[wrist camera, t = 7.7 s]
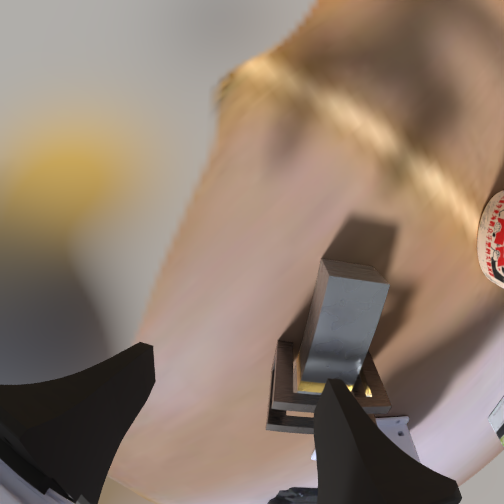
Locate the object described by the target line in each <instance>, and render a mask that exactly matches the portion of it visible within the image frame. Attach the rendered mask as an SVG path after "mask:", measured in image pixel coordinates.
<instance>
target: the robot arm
mask: <svg viewBox="0 0 504 504" xmlns="http://www.w3.org/2000/svg"><path fill="white" fill-rule="evenodd" d="M155 381H156V380H155V368H154V354H153V346H152V345H149V344H145V343H142V342H139V343H137V344H135V345H133V346H132V347H130V348H128V349H126V350H124V351H122V352H121V353H119V354H117V355H115V356H113V357H111V358H109V359H107V360H105V361H103V362H101V363H99V364H97V365H94V366H92V367H90V368H88V369H85V370H83V371H81V372H78V373H75V374H73V375H69V376H66V377H63V378H59V379H55V380H50V381H45V382H41V383H34V384H24V385H0V504H74V503H75V504H98V500H99V497H100V494H101V490H102V487H103V484H104V482H105V479H106V476H107V473H108V471H109V468H110V466H111V463H112V461H113V458H114V456H115V454H116V452H117V449H118V447H119V445H120V443H121V441H122V439H123V437H124V436H125V434H126V432H127V431H128V429H129V428H130V426H131V424H132V423H133V421H134V420H135V418H136V417H137V415H138V413H139V412H140V410H141V409H142V407H143V406H144V404H145V402H146V401H147V399H148V397H149V395H150V393H151V390H152V388H153V386H154V383H155ZM375 419H376V422H377V425H376V424H375V423H374V422H373V421H372V419H371V418H370V417H369V416H368V415H367V413H366V412H365V411H364V409H363V408H362V407H361V405H360V404H359V403H358V401H357V400H356V399H355V397H354V396H353V394H352V393H351V392H350V390H349V389H348V387H347V386H346V384H345V383H344V382H343V380H342V379H330V378H328V379H327V381H326V384H325V387H324V389H323V391H322V394H321V396H320V399H319V401H318V403H317V406H316V408H315V410H314V441H315V450H314V452H313V454H312V455H311V459H312V460H317V470H318V497H317V504H459V503H460V501H461V499H462V496H461V493H460V491H459V488H458V485H457V483H456V481H455V480H453V479H450V478H448V477H446V476H443V475H441V474H439V473H437V472H435V471H433V470H431V469H429V468H428V467H426V466H424V465H422V464H421V463H420V460H419V457H418V454H417V451H416V448H415V445H414V443H413V440H412V437H411V435H410V432H409V430H408V427H407V425H406V424H407V423H408V421H409V417H408V416H404V417H390V418H375ZM67 499H68V500H67ZM69 500H70V501H71V502H70V501H69ZM72 502H73V503H72Z"/></svg>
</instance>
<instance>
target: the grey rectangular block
mask: <svg viewBox="0 0 504 504" xmlns="http://www.w3.org/2000/svg"><path fill="white" fill-rule="evenodd" d="M389 286H390V284H389V283H388V282H387V281H386V280H385V279H384V278H383V277H382V276H381V275H380V274H379V273H378V272H377V271H376V270H375V269H374V268H373V267H372V266H367V265H361V264H355V263H348V262H342V261H336V260H329V259H323V258H321V261H320V266H319V271H318V276H317V280H316V285H315V290H314V294H313V298H312V303H311V307H310V311H309V315H308V320H307V324H306V328H305V332H304V336H303V339H302V343H301V347H300V351H299V353H298V357H297V361H296V365H295V369H294V372H293V393H302V394H314V395H321V394H322V391H323V389H324V387H325V384H326V381H327V379H328V378H330V379H342V380H343V382H344V383H345V384H346V386H347V387H348V389H349V390H350V392H351V390H352V388H353V386H354V383H355V381H356V378H357V376H358V374H359V371H360V369H361V367H362V364H363V362H364V359H365V357H366V354H367V352H368V349H369V346H370V344H371V341H372V338H373V336H374V333H375V330H376V327H377V324H378V321H379V318H380V315H381V312H382V309H383V306H384V303H385V300H386V296H387V293H388V289H389Z"/></svg>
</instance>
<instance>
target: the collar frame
mask: <svg viewBox="0 0 504 504" xmlns="http://www.w3.org/2000/svg"><path fill="white" fill-rule="evenodd" d="M351 393H352V394H353V396H354V397H355V399H356V400H357V401H358V403H359V404H360V405H361V407H362V408H363V409H364V411H365V412H366V413H367V415H368V416H369V417H370V418H371V419H372V421H373V422H374V423H375V424H376V425H377V422H376V419H375V416H374V414H384V413H388V411H389V410H390V408H391V404H390V401H389V398H388V396H387V393H386V391H385V388H384V386H383V383H382V381H381V379H380V376H379V374H378V371H377V369H376V367H375V364H374V362H373V360H372V357H371V355H370V353H369V350H368V352H367V354H366V357H365V359H364V362H363V364H362V367H361V369H360V371H359V374H358V376H357V378H356V381H355V383H354V386H353V388H352V390H351ZM320 396H321V395H314V394H302V393H293V343H292V342H285V341H278V342H277V346H276V351H275V356H274V361H273V365H272V371H271V382H270V393H269V403H268V412H267V422H266V430H270V431H279V432H289V433H302V434H314V418H311V417H297V416H287V415H286V410H288V411H298V412H311V413H314V410H315V408H316V406H317V403H318V401H319V399H320Z"/></svg>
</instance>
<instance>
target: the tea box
mask: <svg viewBox="0 0 504 504" xmlns="http://www.w3.org/2000/svg"><path fill="white" fill-rule="evenodd" d="M488 420H489V422H490V424H491V426H492V428H493V429H494V431H495V433H496V434H497V436H498V437H499V439H500V441H501V443H502V445H503V447H504V397H503V398H502V400H501V401H500V402H499V404H498V405H497V407H496V408H495V409H494V411H493V412H492V414H491V415H490V416H489V418H488Z"/></svg>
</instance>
